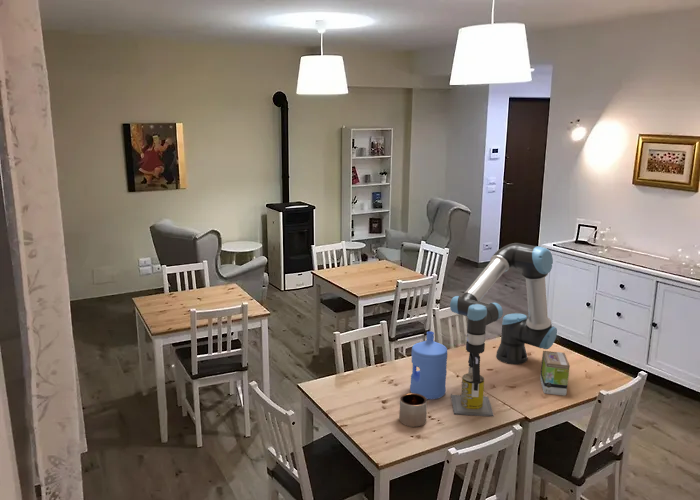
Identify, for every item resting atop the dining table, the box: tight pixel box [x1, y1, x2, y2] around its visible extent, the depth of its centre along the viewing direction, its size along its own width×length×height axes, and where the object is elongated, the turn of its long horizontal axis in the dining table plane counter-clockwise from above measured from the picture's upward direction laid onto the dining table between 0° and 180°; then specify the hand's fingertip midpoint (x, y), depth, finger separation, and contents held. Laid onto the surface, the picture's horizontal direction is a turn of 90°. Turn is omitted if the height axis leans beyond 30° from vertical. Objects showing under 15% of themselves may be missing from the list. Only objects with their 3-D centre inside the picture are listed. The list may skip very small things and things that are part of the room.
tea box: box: [539, 350, 571, 396], centre depth 262 cm, size 15×10×15 cm
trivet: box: [450, 394, 495, 417], centre depth 245 cm, size 16×16×1 cm
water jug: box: [409, 330, 448, 400], centre depth 254 cm, size 16×16×28 cm
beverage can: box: [460, 373, 485, 409], centre depth 244 cm, size 9×9×12 cm
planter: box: [398, 392, 428, 428], centre depth 232 cm, size 11×11×10 cm
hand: (473, 388), depth 244 cm, fingers open, 13 cm apart
